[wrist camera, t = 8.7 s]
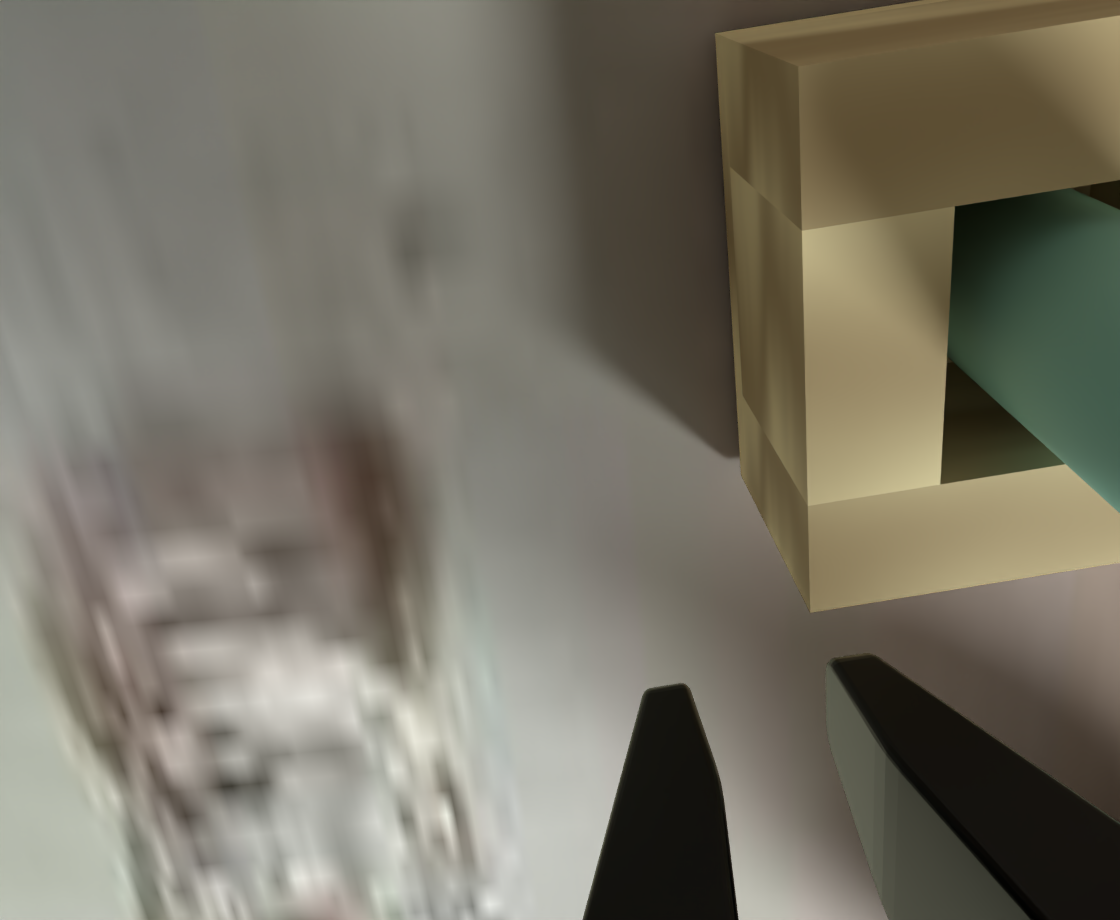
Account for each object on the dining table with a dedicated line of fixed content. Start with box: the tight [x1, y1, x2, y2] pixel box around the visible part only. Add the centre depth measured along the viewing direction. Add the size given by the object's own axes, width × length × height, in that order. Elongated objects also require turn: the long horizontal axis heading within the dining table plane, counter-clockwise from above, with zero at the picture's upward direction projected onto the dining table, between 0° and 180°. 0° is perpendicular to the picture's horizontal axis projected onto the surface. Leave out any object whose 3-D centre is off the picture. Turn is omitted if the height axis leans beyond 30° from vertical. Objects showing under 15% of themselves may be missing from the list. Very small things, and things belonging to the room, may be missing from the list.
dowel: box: [947, 188, 1120, 513], centre depth 15 cm, size 3×3×10 cm
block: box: [715, 0, 1120, 613], centre depth 17 cm, size 9×9×5 cm
